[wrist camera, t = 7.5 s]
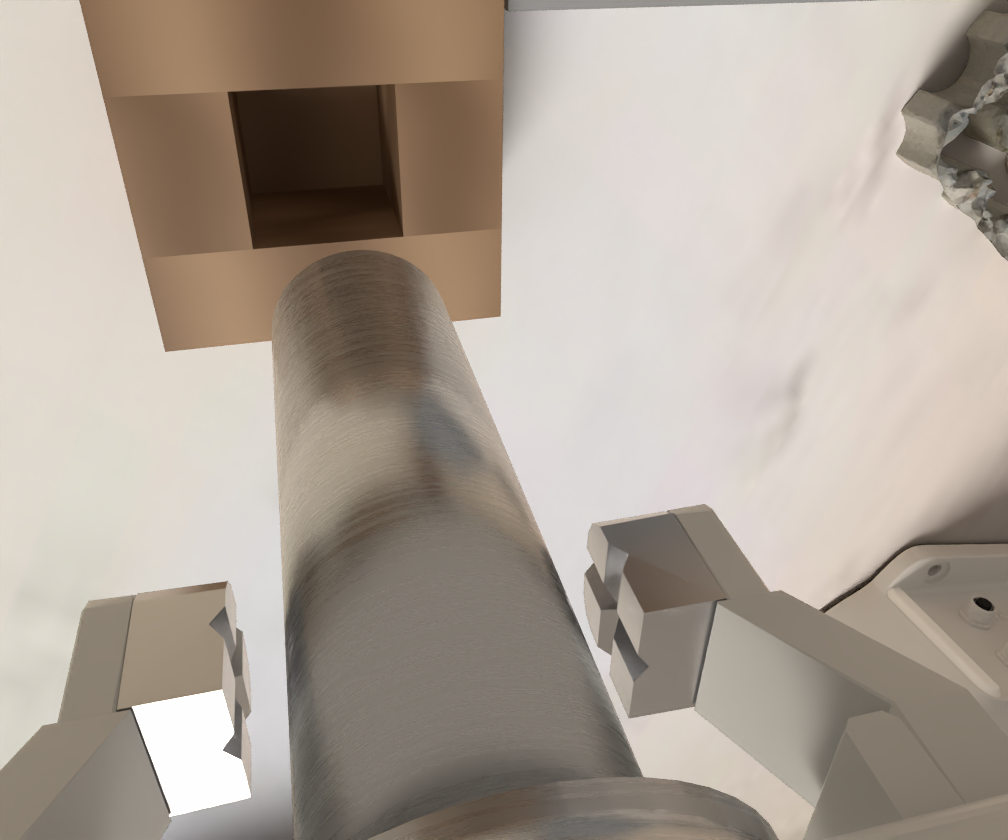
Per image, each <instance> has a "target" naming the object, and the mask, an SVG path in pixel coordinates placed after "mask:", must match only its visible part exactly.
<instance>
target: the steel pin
mask: <svg viewBox="0 0 1008 840" xmlns="http://www.w3.org/2000/svg"><path fill="white" fill-rule="evenodd" d="M271 332H272V355H273V377H274V400H275V423H276V445H277V468H278V490H279V513H280V536H281V558H282V581H283V603H284V626H285V648H286V671H287V694H288V716H289V739H290V761H291V784H292V807H293V829H294V840H778V838H777V836H776V834H775V833H774V831H773V829H772V827H771V826H770V824H769V823H768V822H767V821H766V820H765V819H764V818H763V817H762V816H761V815H760V814H759V813H758V812H757V811H756V810H755V809H753V808H752V807H750V806H748V805H747V804H745V803H743V802H742V801H740V800H739V799H737V798H735V797H733V796H730V795H728V794H725V793H723V792H720V791H717V790H715V789H712V788H710V787H705V786H701V785H696V784H692V783H687V782H683V781H678V780H667V779H657V778H646V777H643V775H642V773H641V771H640V768H639V766H638V763H637V761H636V759H635V756H634V754H633V752H632V749H631V747H630V744H629V742H628V740H627V737H626V735H625V733H624V730H623V728H622V725H621V723H620V721H619V718H618V716H617V714H616V711H615V709H614V706H613V704H612V702H611V699H610V697H609V695H608V692H607V690H606V687H605V685H604V683H603V680H602V678H601V675H600V673H599V671H598V668H597V666H596V664H595V661H594V659H593V656H592V654H591V652H590V649H589V647H588V645H587V642H586V640H585V637H584V635H583V633H582V630H581V628H580V626H579V623H578V621H577V618H576V616H575V614H574V611H573V609H572V607H571V604H570V602H569V599H568V597H567V595H566V592H565V590H564V588H563V585H562V583H561V580H560V578H559V576H558V573H557V571H556V568H555V566H554V564H553V561H552V559H551V557H550V554H549V552H548V549H547V547H546V545H545V542H544V540H543V538H542V535H541V533H540V530H539V528H538V526H537V523H536V521H535V519H534V516H533V514H532V511H531V509H530V507H529V504H528V502H527V500H526V497H525V495H524V492H523V490H522V488H521V485H520V483H519V481H518V478H517V476H516V473H515V471H514V469H513V466H512V464H511V462H510V459H509V457H508V454H507V452H506V450H505V447H504V445H503V442H502V440H501V438H500V435H499V433H498V431H497V428H496V426H495V423H494V421H493V419H492V416H491V414H490V412H489V409H488V407H487V404H486V402H485V400H484V397H483V395H482V393H481V390H480V388H479V385H478V383H477V381H476V378H475V376H474V374H473V371H472V369H471V366H470V364H469V362H468V359H467V357H466V355H465V352H464V350H463V347H462V345H461V343H460V340H459V338H458V335H457V333H456V331H455V328H454V326H453V324H452V321H451V319H450V316H449V314H448V312H447V309H446V307H445V305H444V302H443V300H442V297H441V295H440V293H439V291H438V290H437V288H436V286H435V285H434V284H433V282H432V281H431V280H430V279H429V277H428V276H427V275H425V274H424V273H423V272H422V271H421V270H420V269H419V268H417V267H416V266H414V265H413V264H412V263H410V262H408V261H406V260H404V259H402V258H400V257H397V256H395V255H392V254H389V253H384V252H380V251H372V250H352V251H345V252H340V253H336V254H333V255H329V256H327V257H325V258H322V259H320V260H318V261H316V262H314V263H312V264H311V265H309V266H308V267H306V268H305V269H304V270H302V271H301V272H300V273H298V274H297V275H296V276H295V277H294V278H293V279H292V280H291V282H290V283H289V284H288V285H287V287H286V288H285V289H284V291H283V293H282V294H281V296H280V298H279V300H278V302H277V305H276V307H275V310H274V314H273V319H272V330H271Z"/></svg>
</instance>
